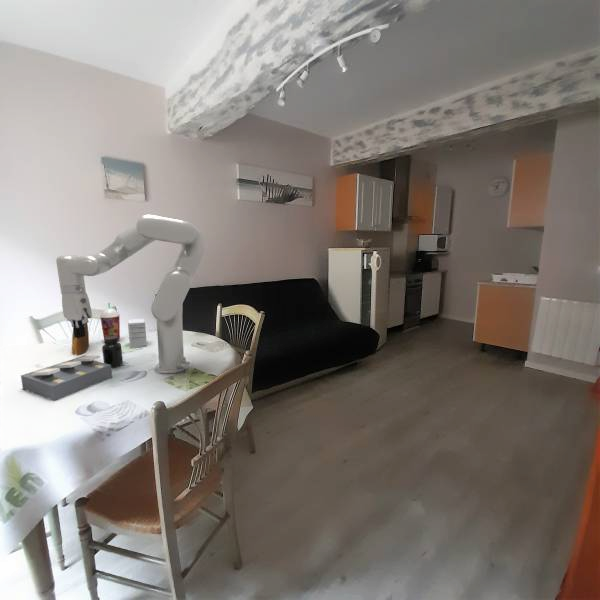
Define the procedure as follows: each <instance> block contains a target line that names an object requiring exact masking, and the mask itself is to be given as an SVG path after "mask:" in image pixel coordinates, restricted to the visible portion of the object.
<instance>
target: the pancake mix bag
mask: <svg viewBox="0 0 600 600" xmlns="http://www.w3.org/2000/svg"><path fill="white" fill-rule="evenodd" d="M84 328H85V335H86V336H84V337H81V338H75V337H74V331H73V330H72V338H71V350H72V351H71V352H72V355H74V356H75V355H76V356H82V355H84V354H85V353H86V352H87V350H88V348H89V345H90V339H89V338H90V337H89V335H90V333H89V326H88V323H85V326H84Z"/></svg>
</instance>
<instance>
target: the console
mask: <svg viewBox="0 0 600 600" xmlns="http://www.w3.org/2000/svg"><path fill="white" fill-rule="evenodd" d="M64 362H74V358H72V359H69V360H66V361H64ZM54 365H55V364H53V365H51V366H47V367H45V368H46V369H52V368H54ZM32 372H33V371H32ZM32 372H29V373H27V372H26V373H24V374H22V375H20V378H21V386H22V390H24V389H25V391H27V390H28V391H27V392H30V393H32V392H33V394H35V395H38V396H41V397H44V398H46V399H49V400H52V401H57V400H60V399H62V398H65V397H67V396H70V395H72V394H75V393H77V392H79V391H82V390H84V389H86V388H87V389H88V388H90V387H91V386H94V385H97V384H99V383H103V381H106V380H108V379H111V378H113V373H112V368H111V365H109V364H106V363H104V362H100V361H98V360H92V361H81V364H79V365H77V366H74V367H69V368H60V371H59V372H56V373H53V374H50V375H33V376H32V374H31V373H32Z"/></svg>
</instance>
